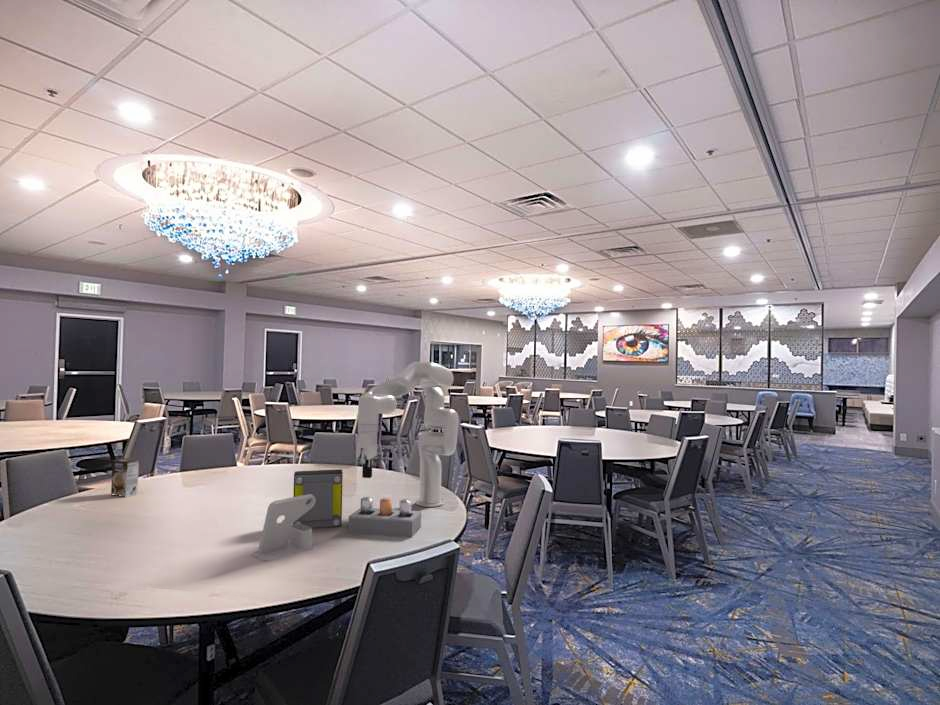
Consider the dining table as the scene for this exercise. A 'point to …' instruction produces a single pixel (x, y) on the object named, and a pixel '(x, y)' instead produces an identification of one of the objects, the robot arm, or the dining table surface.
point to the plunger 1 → (366, 505)
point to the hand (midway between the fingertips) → (367, 477)
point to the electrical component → (320, 497)
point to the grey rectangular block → (385, 523)
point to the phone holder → (285, 529)
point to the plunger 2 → (405, 508)
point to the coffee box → (124, 477)
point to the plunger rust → (386, 506)
